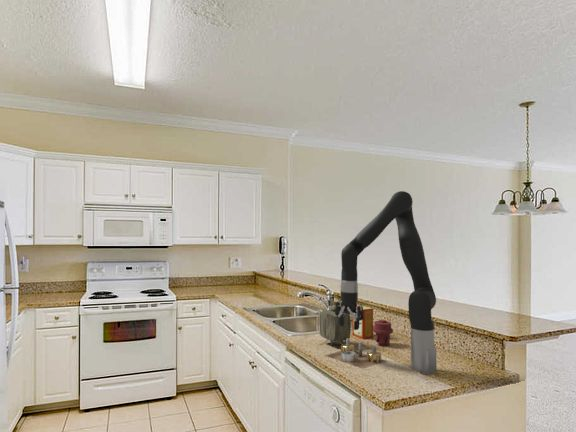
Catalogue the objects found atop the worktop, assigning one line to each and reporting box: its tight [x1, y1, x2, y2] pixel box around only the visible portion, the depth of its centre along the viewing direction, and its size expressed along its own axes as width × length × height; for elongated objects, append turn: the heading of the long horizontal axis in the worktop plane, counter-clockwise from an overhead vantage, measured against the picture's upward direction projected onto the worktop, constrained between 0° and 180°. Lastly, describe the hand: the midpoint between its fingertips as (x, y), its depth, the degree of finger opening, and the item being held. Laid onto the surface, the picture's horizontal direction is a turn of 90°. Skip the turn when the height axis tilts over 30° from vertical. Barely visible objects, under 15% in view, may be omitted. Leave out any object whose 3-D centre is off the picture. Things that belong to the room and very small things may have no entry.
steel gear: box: [341, 351, 356, 362], centre depth 171 cm, size 6×6×3 cm
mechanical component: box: [373, 319, 394, 347], centre depth 198 cm, size 12×10×10 cm
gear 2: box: [366, 350, 382, 364], centre depth 170 cm, size 6×6×3 cm
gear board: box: [324, 338, 387, 369], centre depth 174 cm, size 22×16×7 cm
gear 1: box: [340, 340, 356, 352], centre depth 182 cm, size 6×6×5 cm
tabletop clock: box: [318, 295, 352, 347], centre depth 195 cm, size 14×9×25 cm, turn 33°
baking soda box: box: [351, 305, 374, 340], centre depth 215 cm, size 10×6×16 cm
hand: (348, 327), depth 172 cm, fingers open, 8 cm apart
